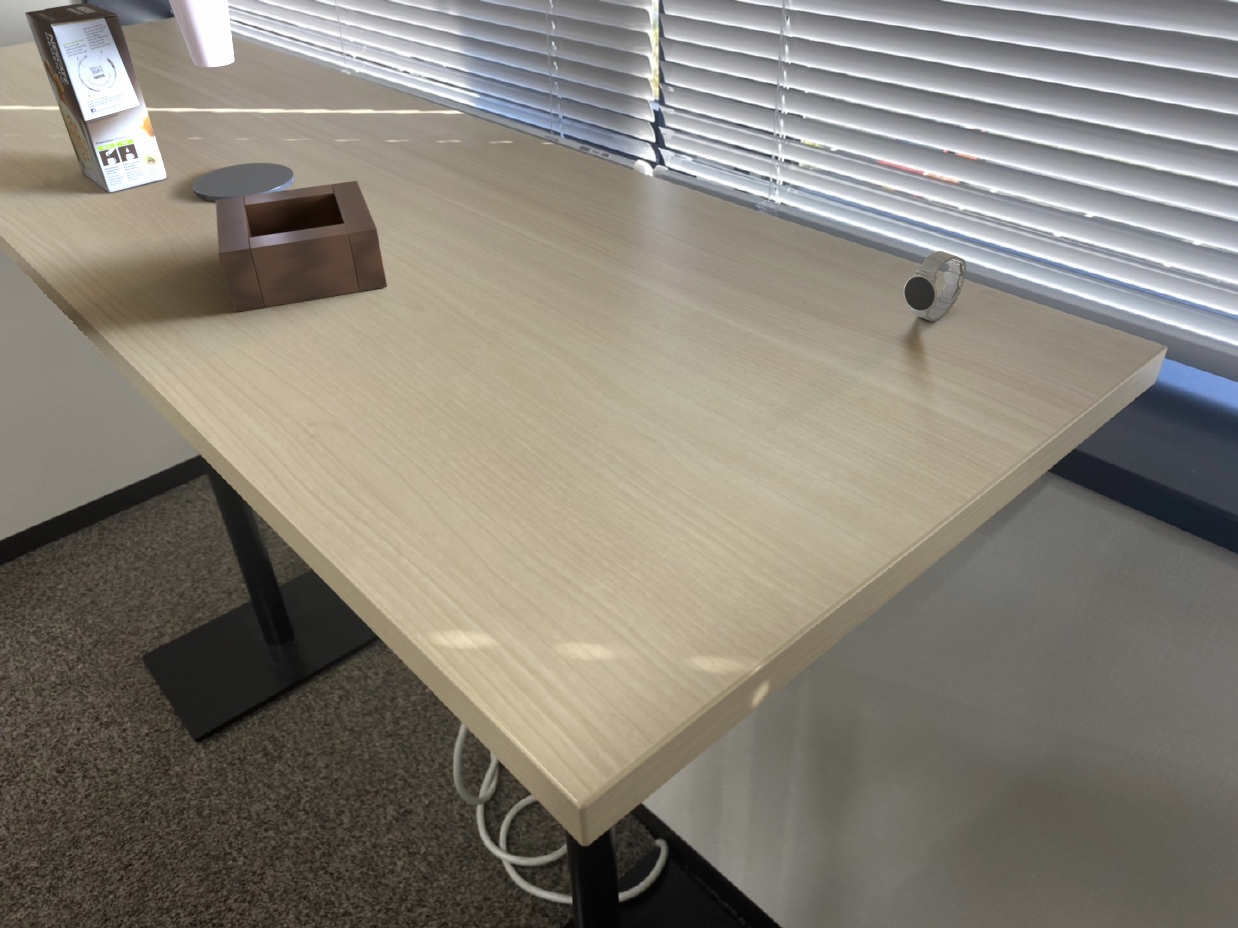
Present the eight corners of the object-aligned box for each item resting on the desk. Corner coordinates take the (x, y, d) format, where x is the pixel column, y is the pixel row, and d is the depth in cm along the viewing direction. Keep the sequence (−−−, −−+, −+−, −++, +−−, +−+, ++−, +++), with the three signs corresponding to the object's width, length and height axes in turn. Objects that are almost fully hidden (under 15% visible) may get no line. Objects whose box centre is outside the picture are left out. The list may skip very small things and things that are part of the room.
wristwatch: (897, 320, 73) (907, 258, 70) (935, 299, 76) (946, 239, 73) (930, 333, 71) (942, 271, 68) (967, 312, 74) (981, 250, 71)
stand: (235, 312, 76) (218, 253, 74) (230, 254, 86) (215, 199, 83) (387, 287, 80) (377, 229, 77) (367, 233, 89) (357, 180, 86)
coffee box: (170, 178, 102) (121, 13, 92) (108, 194, 98) (50, 24, 89) (138, 158, 107) (88, 0, 98) (78, 172, 104) (20, 10, 95)
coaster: (194, 208, 95) (192, 202, 94) (193, 175, 102) (192, 170, 102) (299, 194, 97) (297, 188, 97) (291, 163, 105) (289, 157, 105)
